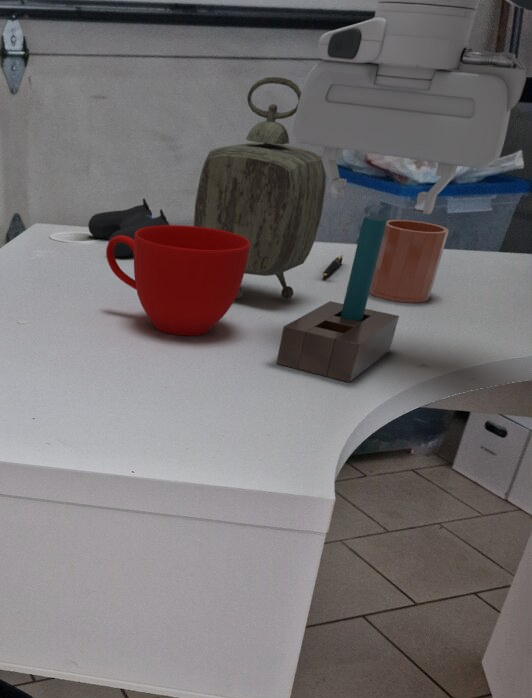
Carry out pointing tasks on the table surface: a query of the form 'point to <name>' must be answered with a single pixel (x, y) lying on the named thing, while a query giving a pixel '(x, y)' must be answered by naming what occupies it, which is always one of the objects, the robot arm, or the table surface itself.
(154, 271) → the ceramic cup
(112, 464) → the table surface
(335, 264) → the fountain pen
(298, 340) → the holder
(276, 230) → the tabletop clock
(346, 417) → the table surface
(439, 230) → the tumbler
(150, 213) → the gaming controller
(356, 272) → the teal square bar
